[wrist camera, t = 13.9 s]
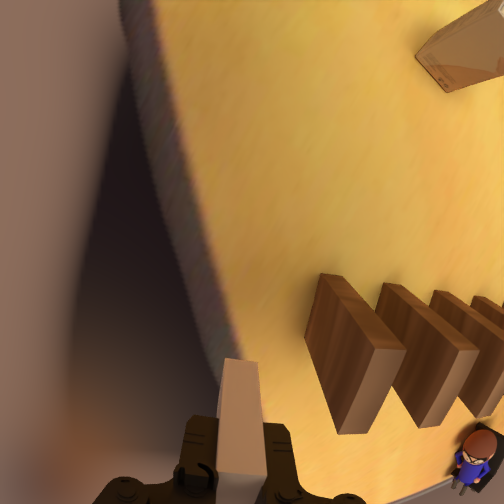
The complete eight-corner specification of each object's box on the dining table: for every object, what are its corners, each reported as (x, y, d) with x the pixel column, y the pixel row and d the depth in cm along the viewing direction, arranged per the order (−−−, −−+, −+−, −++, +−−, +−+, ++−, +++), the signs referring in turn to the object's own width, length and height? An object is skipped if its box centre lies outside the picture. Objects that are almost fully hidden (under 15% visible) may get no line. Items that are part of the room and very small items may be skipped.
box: (446, 94, 20) (539, 70, 9) (412, 56, 19) (496, 9, 9) (469, 64, 19) (553, 36, 8) (438, 28, 18) (515, -16, 8)
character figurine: (439, 478, 33) (457, 424, 30) (475, 462, 33) (497, 404, 29) (453, 512, 26) (479, 463, 22) (492, 492, 25) (523, 438, 22)
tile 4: (454, 346, 26) (516, 408, 15) (474, 295, 25) (548, 346, 14) (465, 346, 26) (526, 405, 15) (484, 297, 25) (557, 345, 14)
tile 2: (364, 342, 25) (418, 428, 15) (383, 282, 24) (459, 350, 13) (381, 344, 25) (439, 425, 15) (401, 285, 24) (480, 350, 13)
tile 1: (304, 337, 25) (337, 434, 14) (320, 273, 24) (375, 348, 13) (324, 339, 25) (367, 433, 14) (342, 276, 24) (407, 349, 13)
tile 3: (414, 345, 26) (476, 418, 15) (434, 289, 24) (513, 349, 14) (428, 346, 26) (490, 415, 15) (448, 291, 24) (526, 348, 14)
